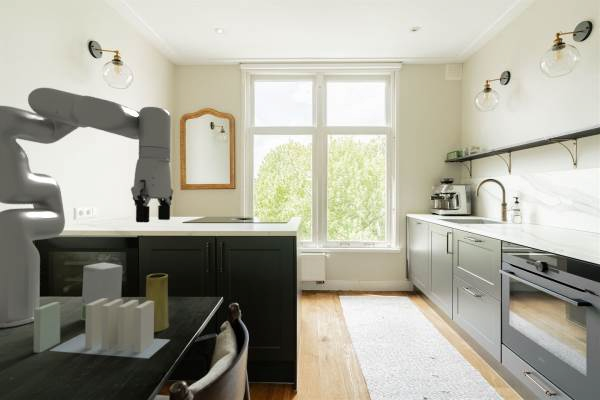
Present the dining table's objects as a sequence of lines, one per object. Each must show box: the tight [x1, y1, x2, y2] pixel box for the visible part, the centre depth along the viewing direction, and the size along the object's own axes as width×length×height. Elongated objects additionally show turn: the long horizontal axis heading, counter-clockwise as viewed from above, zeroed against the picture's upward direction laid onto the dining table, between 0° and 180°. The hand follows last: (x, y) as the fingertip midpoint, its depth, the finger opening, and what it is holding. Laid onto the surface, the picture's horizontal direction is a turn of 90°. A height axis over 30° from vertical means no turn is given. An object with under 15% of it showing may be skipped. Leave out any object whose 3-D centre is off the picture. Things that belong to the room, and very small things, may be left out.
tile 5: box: [134, 300, 155, 353], centre depth 72 cm, size 2×5×10 cm, turn 173°
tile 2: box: [84, 298, 108, 349], centre depth 73 cm, size 2×5×10 cm, turn 173°
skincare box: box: [80, 262, 123, 322], centre depth 90 cm, size 8×7×16 cm
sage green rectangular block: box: [33, 301, 61, 354], centre depth 72 cm, size 2×5×10 cm, turn 173°
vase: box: [145, 272, 170, 333], centre depth 83 cm, size 6×6×14 cm
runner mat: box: [49, 333, 171, 359], centre depth 73 cm, size 24×9×1 cm, turn 83°
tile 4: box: [117, 299, 140, 351], centre depth 72 cm, size 2×5×10 cm, turn 173°
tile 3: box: [101, 298, 124, 350], centre depth 73 cm, size 2×5×10 cm, turn 173°
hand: (153, 220), depth 81 cm, fingers open, 9 cm apart
